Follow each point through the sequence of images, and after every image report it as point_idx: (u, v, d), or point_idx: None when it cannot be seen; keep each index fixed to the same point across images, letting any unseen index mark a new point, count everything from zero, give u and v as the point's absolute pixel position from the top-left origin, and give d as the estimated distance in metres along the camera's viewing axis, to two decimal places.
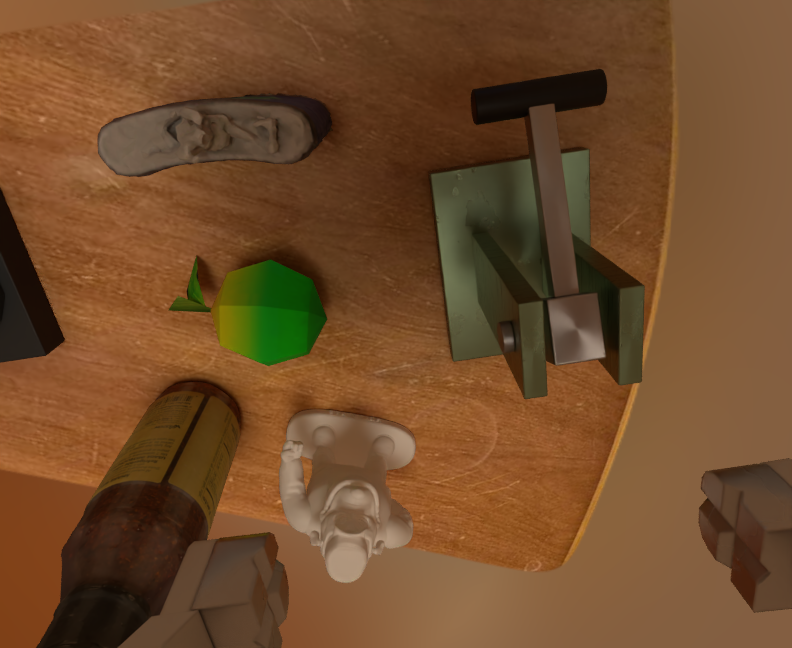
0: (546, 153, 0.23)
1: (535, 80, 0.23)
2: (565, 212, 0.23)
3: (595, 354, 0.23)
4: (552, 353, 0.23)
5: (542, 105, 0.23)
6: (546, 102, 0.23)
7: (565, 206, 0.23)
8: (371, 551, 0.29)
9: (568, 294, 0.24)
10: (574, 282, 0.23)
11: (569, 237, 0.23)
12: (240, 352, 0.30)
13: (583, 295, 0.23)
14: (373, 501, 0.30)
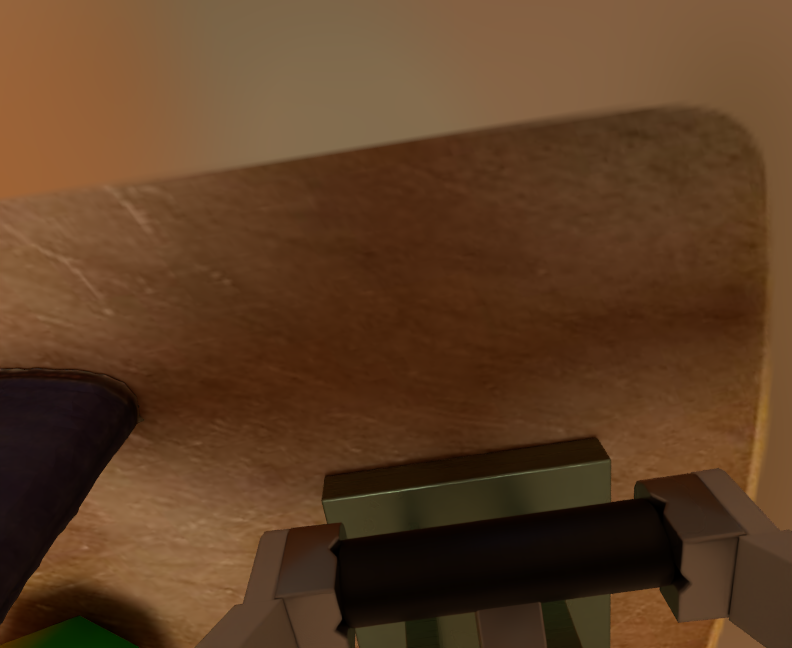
0: None
1: (493, 543, 0.09)
2: None
3: None
4: None
5: (510, 610, 0.09)
6: (520, 602, 0.09)
7: None
8: None
9: None
10: None
11: None
12: None
13: None
14: None
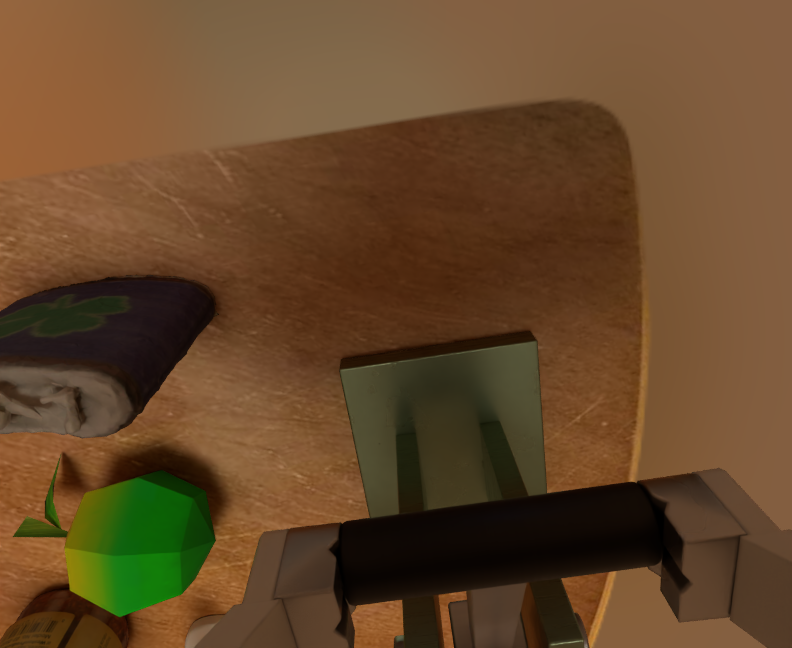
0: (494, 608, 0.12)
1: (494, 558, 0.09)
2: (511, 633, 0.14)
3: None
4: None
5: None
6: None
7: (512, 630, 0.13)
8: None
9: None
10: None
11: (510, 640, 0.14)
12: (94, 601, 0.24)
13: None
14: None
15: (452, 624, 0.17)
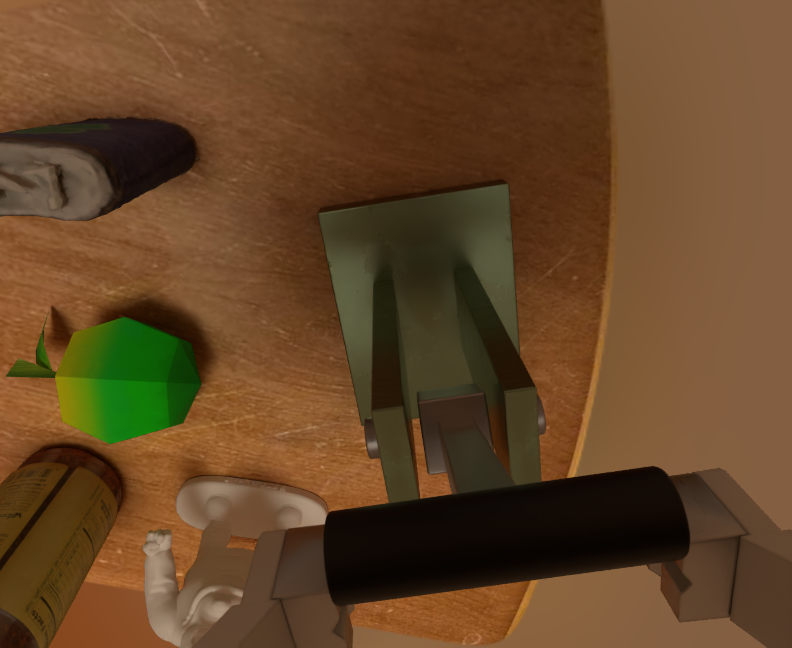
0: None
1: (502, 578, 0.08)
2: None
3: None
4: None
5: None
6: None
7: None
8: None
9: None
10: None
11: None
12: (85, 430, 0.25)
13: None
14: None
15: (421, 421, 0.18)
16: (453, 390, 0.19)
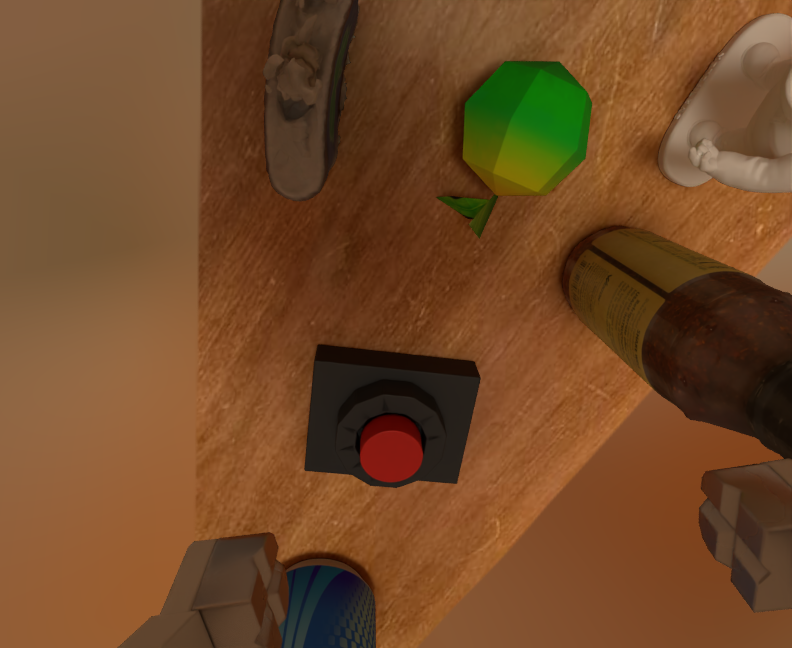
0: None
1: None
2: None
3: None
4: None
5: None
6: None
7: None
8: None
9: None
10: None
11: None
12: (554, 170, 0.25)
13: None
14: None
15: None
16: None
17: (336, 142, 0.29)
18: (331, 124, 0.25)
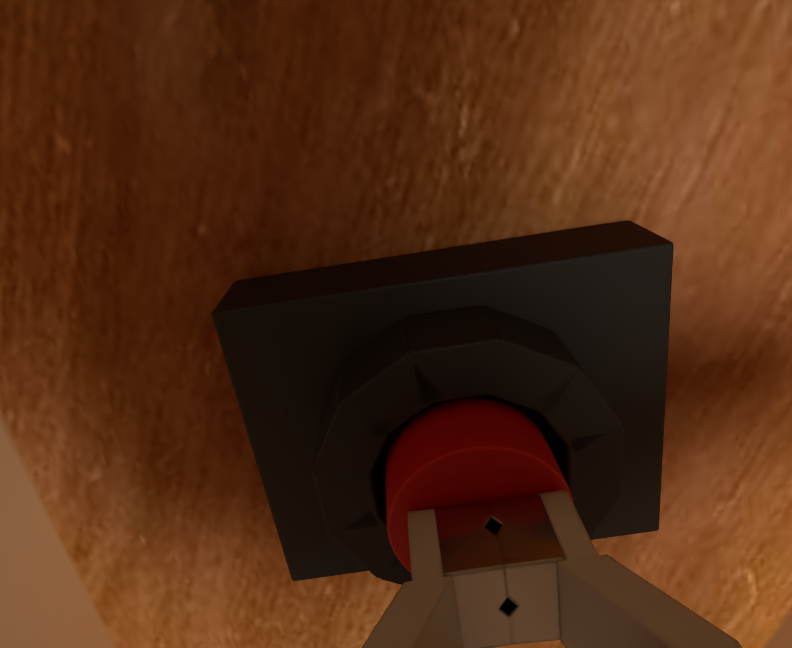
0: None
1: None
2: None
3: None
4: None
5: None
6: None
7: None
8: None
9: None
10: None
11: None
12: None
13: None
14: None
15: None
16: None
17: None
18: None
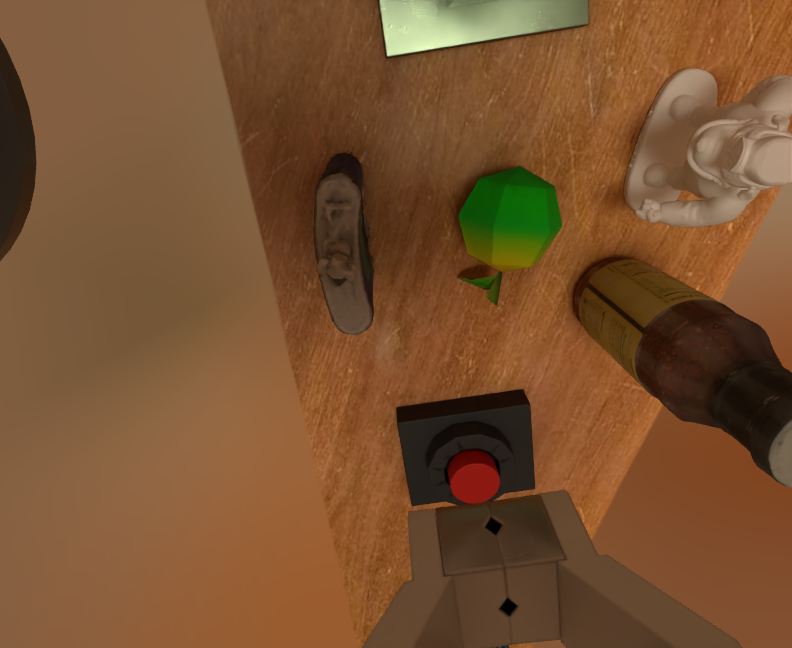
0: None
1: None
2: None
3: None
4: None
5: None
6: None
7: None
8: (779, 131, 0.25)
9: None
10: None
11: None
12: (537, 250, 0.33)
13: None
14: (719, 126, 0.27)
15: None
16: None
17: (371, 263, 0.38)
18: (365, 264, 0.34)
